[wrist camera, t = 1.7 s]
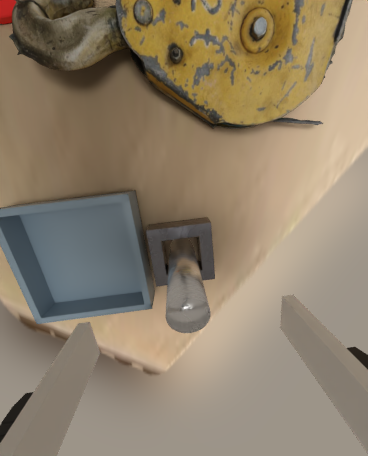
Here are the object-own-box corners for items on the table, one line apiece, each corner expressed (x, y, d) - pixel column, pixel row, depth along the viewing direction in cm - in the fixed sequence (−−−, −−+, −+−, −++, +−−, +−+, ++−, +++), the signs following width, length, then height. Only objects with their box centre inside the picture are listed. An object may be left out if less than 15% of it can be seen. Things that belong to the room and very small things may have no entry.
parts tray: (14, 205, 21) (-16, 211, 18) (135, 190, 21) (127, 193, 18) (54, 304, 26) (36, 324, 22) (154, 291, 26) (151, 308, 22)
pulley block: (-94, -227, 9) (444, -126, 11) (6, -90, 14) (357, -39, 16) (10, 109, 15) (341, 134, 17) (53, 118, 20) (302, 135, 22)
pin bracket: (149, 224, 23) (145, 230, 20) (207, 217, 23) (210, 222, 21) (158, 275, 25) (156, 286, 23) (211, 268, 25) (214, 278, 23)
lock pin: (168, 238, 24) (162, 299, 12) (191, 235, 24) (208, 293, 12) (171, 259, 24) (169, 335, 13) (194, 256, 25) (211, 329, 13)
